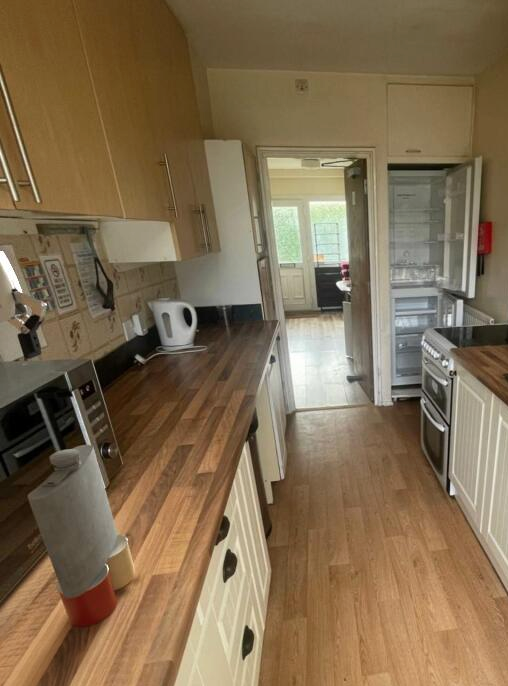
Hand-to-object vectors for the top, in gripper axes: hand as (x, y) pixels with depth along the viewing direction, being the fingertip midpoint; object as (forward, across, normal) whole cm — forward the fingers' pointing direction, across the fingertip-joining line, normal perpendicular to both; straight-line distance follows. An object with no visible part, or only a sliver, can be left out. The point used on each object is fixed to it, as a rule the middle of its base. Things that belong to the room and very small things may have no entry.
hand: (0, 356), depth 68 cm
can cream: (+38, +13, -9) cm, 41 cm away
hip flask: (+32, +13, -12) cm, 36 cm away
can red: (+38, +13, -16) cm, 43 cm away
